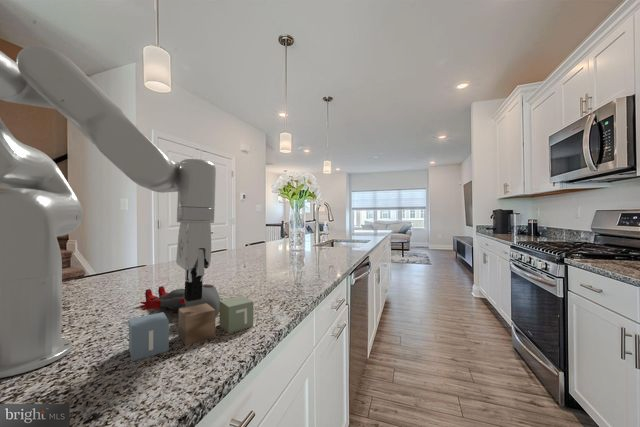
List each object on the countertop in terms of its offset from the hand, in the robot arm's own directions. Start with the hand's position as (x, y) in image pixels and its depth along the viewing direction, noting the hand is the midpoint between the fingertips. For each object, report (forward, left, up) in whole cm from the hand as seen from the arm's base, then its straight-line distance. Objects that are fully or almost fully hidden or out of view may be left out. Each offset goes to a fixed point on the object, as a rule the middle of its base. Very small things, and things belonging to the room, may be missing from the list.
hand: (193, 299), depth 58 cm
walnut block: (+1, 0, -8) cm, 8 cm away
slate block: (-8, 0, -8) cm, 12 cm away
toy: (+1, +19, -9) cm, 21 cm away
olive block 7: (+10, 0, -8) cm, 13 cm away
